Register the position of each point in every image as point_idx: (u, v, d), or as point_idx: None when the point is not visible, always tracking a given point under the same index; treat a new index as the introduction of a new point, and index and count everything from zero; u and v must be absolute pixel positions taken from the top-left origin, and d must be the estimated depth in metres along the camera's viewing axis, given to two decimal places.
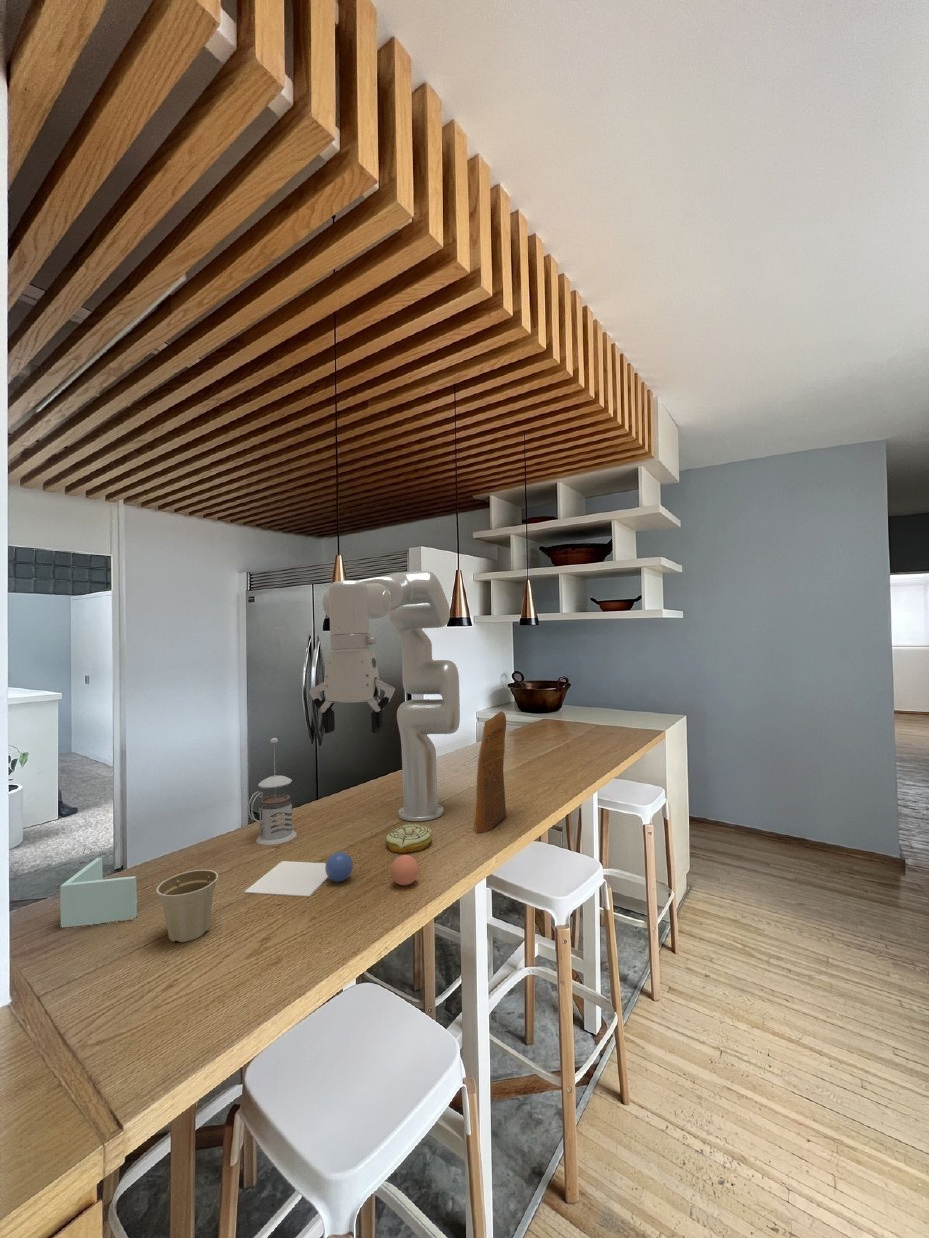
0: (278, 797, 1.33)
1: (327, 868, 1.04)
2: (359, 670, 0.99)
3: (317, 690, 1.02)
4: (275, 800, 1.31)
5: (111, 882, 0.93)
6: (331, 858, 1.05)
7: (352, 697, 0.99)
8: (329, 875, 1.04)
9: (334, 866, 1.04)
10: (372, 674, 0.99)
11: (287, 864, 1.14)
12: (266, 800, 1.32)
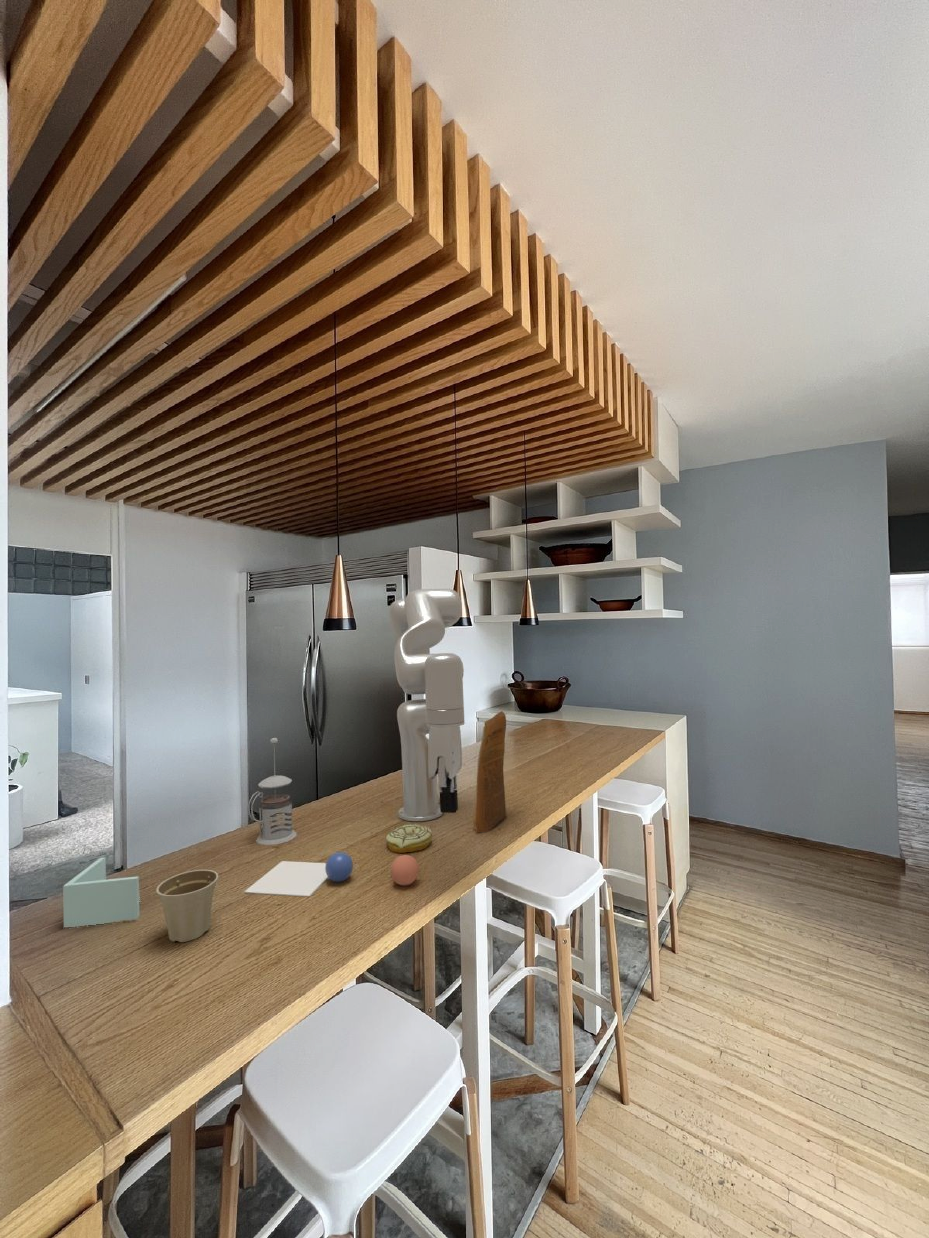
0: (278, 797, 1.33)
1: (327, 868, 1.04)
2: (460, 740, 1.05)
3: (445, 777, 0.98)
4: (275, 800, 1.31)
5: (114, 882, 0.93)
6: (331, 858, 1.05)
7: (459, 768, 1.03)
8: (329, 875, 1.04)
9: (334, 866, 1.04)
10: None
11: (287, 864, 1.14)
12: (266, 800, 1.32)
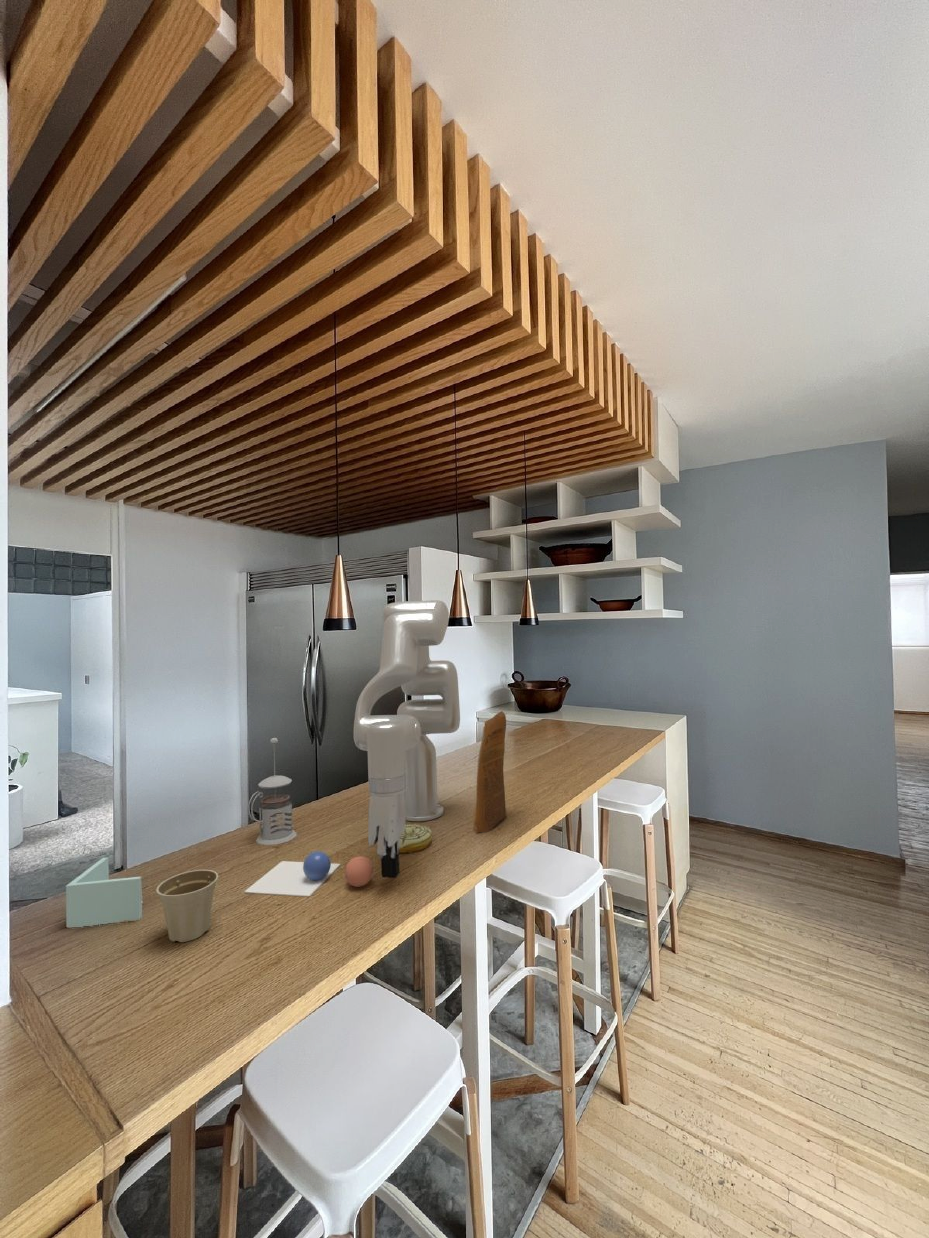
0: (278, 797, 1.33)
1: (311, 878, 1.05)
2: (403, 804, 1.07)
3: (385, 845, 1.00)
4: (275, 800, 1.31)
5: (116, 882, 0.93)
6: None
7: (400, 833, 1.05)
8: (315, 875, 1.05)
9: (305, 870, 1.05)
10: None
11: (287, 864, 1.14)
12: (266, 800, 1.32)
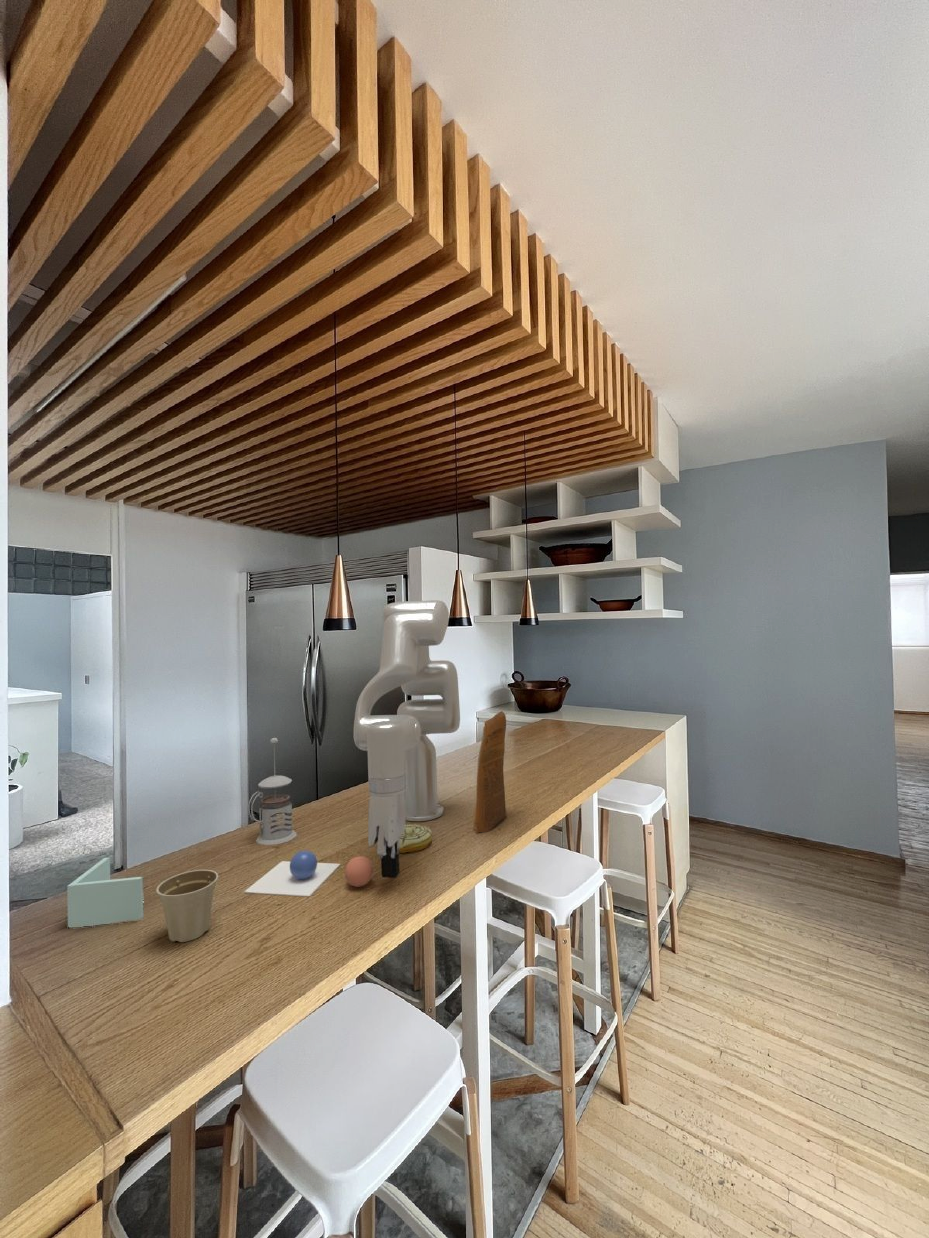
0: (278, 797, 1.33)
1: (304, 874, 1.05)
2: (403, 804, 1.07)
3: (385, 845, 1.00)
4: (275, 800, 1.31)
5: (118, 882, 0.93)
6: (302, 879, 1.06)
7: (400, 833, 1.05)
8: (302, 868, 1.05)
9: (294, 874, 1.05)
10: None
11: (287, 864, 1.14)
12: (266, 800, 1.32)
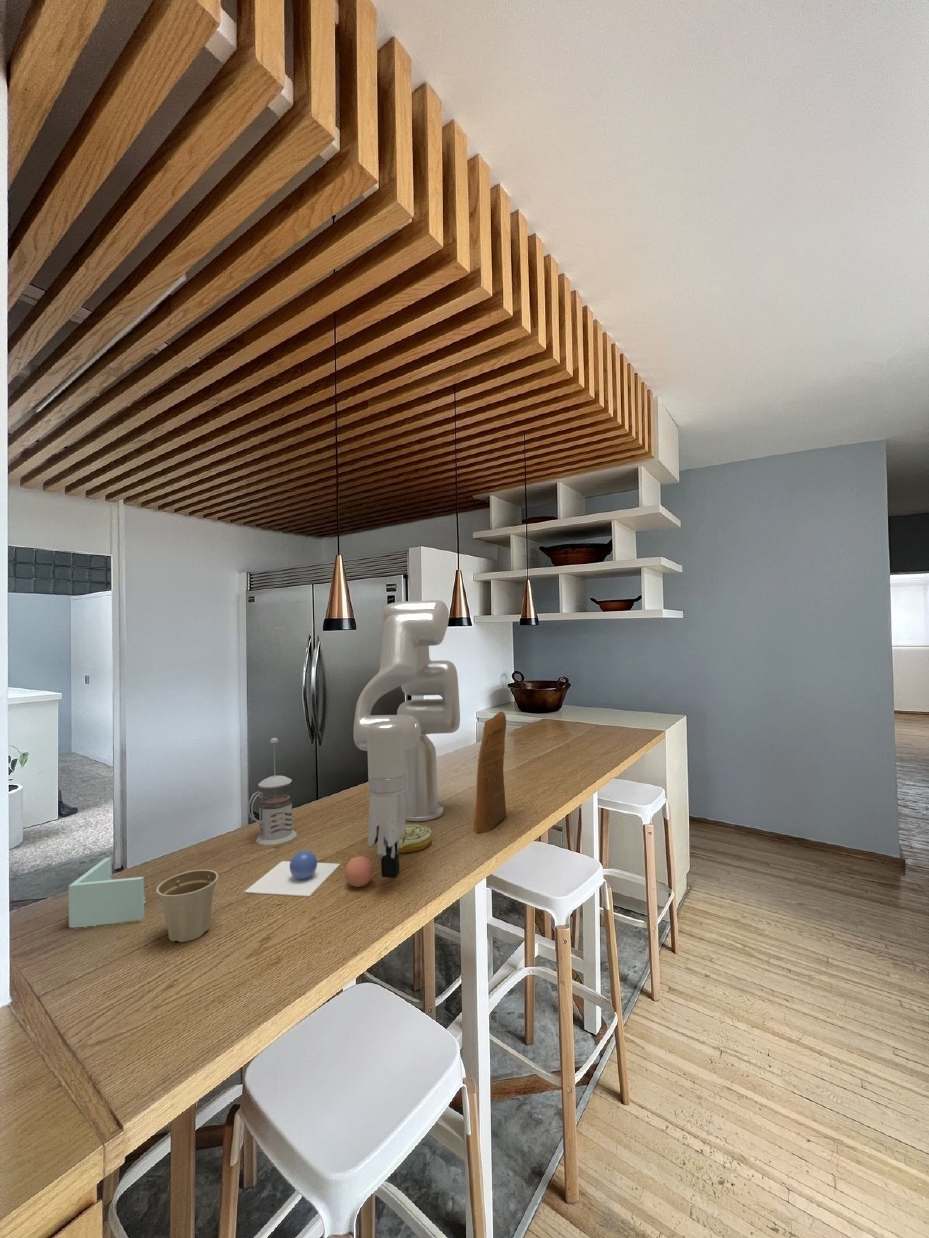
0: (278, 797, 1.33)
1: (304, 874, 1.05)
2: (403, 804, 1.07)
3: (385, 845, 1.00)
4: (275, 800, 1.31)
5: (119, 882, 0.93)
6: (302, 879, 1.06)
7: (400, 833, 1.05)
8: (302, 868, 1.05)
9: (294, 874, 1.05)
10: None
11: (287, 864, 1.14)
12: (266, 800, 1.32)
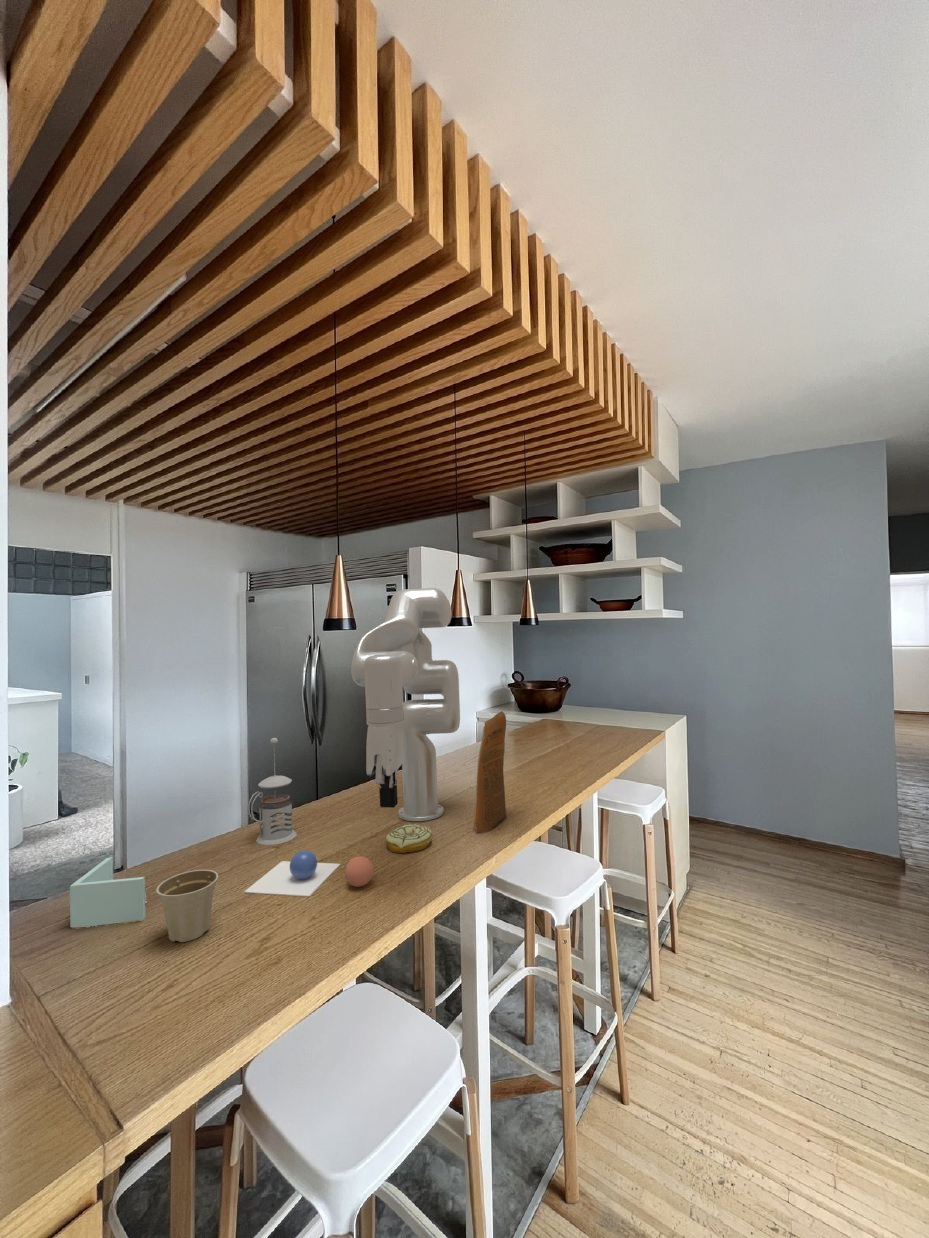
0: (278, 797, 1.33)
1: (304, 874, 1.05)
2: (401, 737, 1.07)
3: (383, 774, 1.01)
4: (275, 800, 1.31)
5: (120, 882, 0.93)
6: (302, 879, 1.06)
7: (398, 764, 1.06)
8: (302, 868, 1.05)
9: (294, 874, 1.05)
10: None
11: (287, 864, 1.14)
12: (266, 800, 1.32)
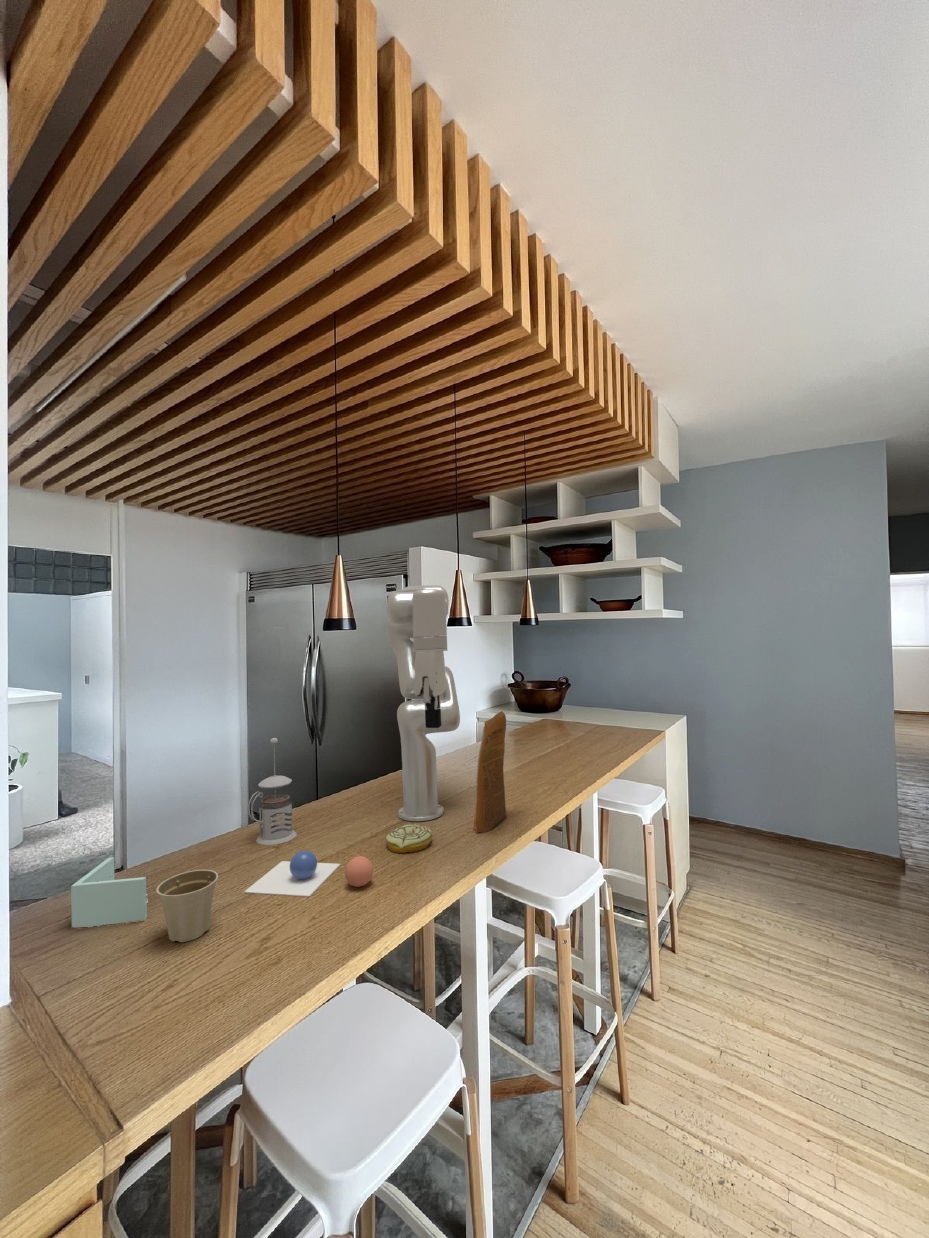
0: (278, 797, 1.33)
1: (304, 874, 1.05)
2: (444, 666, 1.18)
3: (429, 695, 1.11)
4: (275, 800, 1.31)
5: (121, 882, 0.93)
6: (302, 879, 1.06)
7: (442, 689, 1.16)
8: (302, 868, 1.05)
9: (294, 874, 1.05)
10: None
11: (287, 864, 1.14)
12: (266, 800, 1.32)
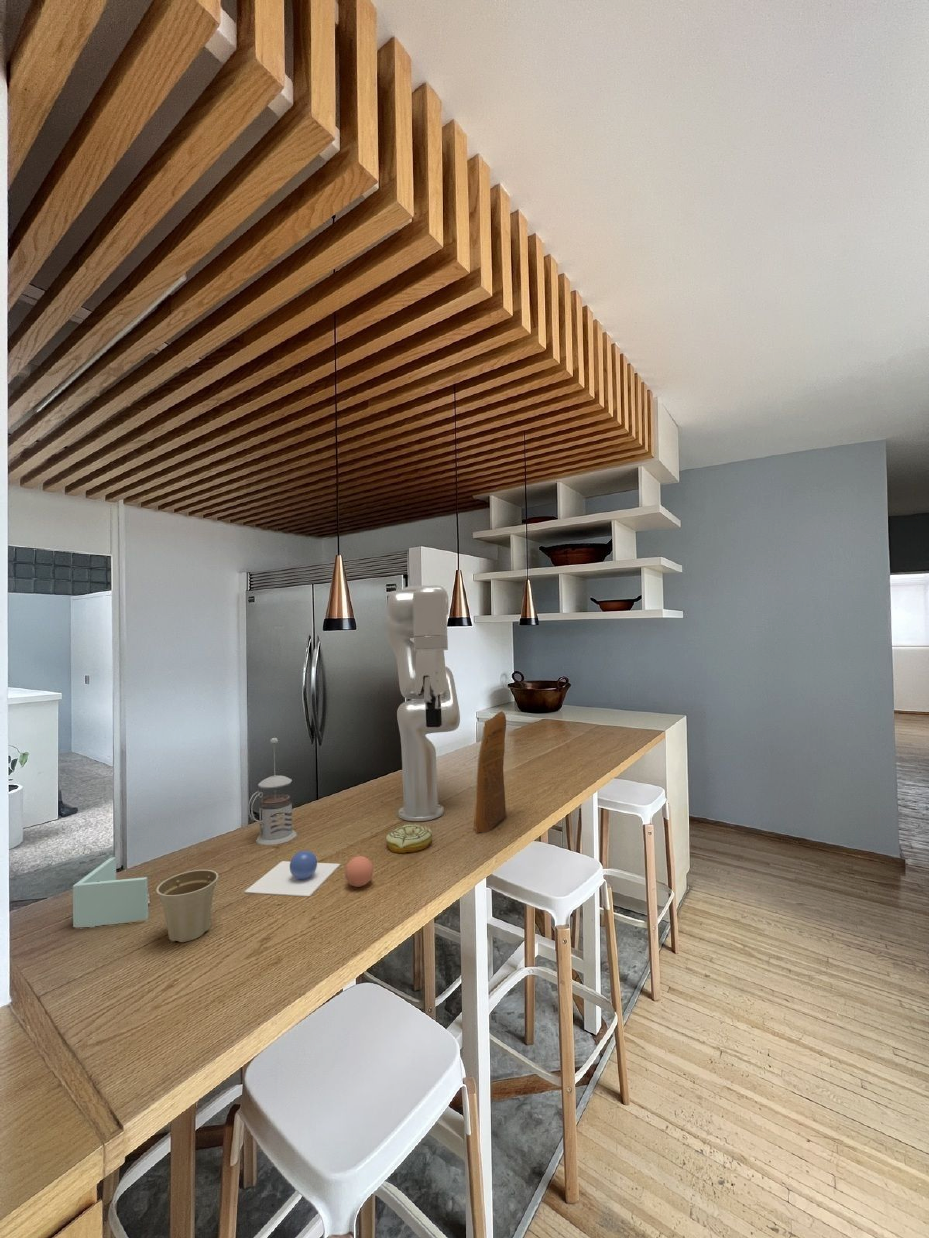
0: (278, 797, 1.33)
1: (304, 874, 1.05)
2: (444, 665, 1.18)
3: (430, 694, 1.11)
4: (275, 800, 1.31)
5: (123, 882, 0.93)
6: (302, 879, 1.06)
7: (442, 689, 1.16)
8: (302, 868, 1.05)
9: (294, 874, 1.05)
10: None
11: (287, 864, 1.14)
12: (266, 800, 1.32)
